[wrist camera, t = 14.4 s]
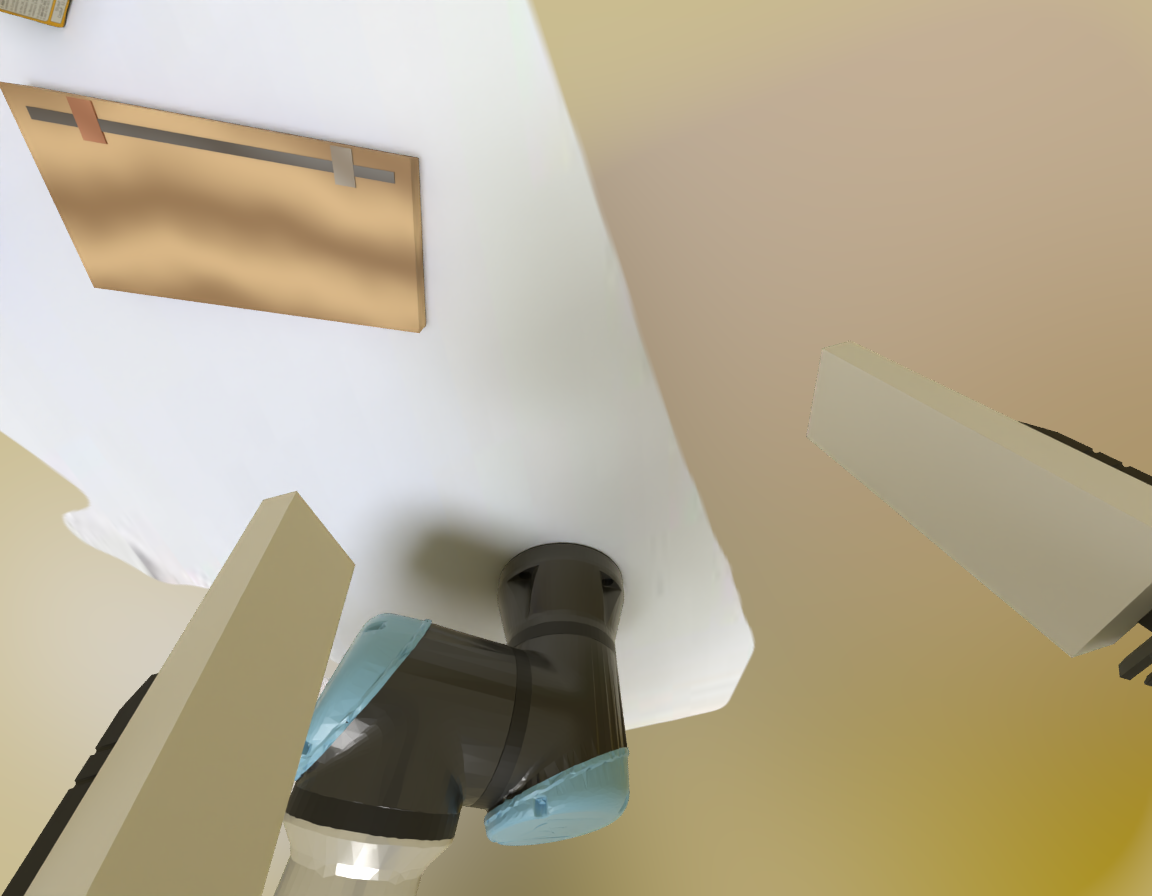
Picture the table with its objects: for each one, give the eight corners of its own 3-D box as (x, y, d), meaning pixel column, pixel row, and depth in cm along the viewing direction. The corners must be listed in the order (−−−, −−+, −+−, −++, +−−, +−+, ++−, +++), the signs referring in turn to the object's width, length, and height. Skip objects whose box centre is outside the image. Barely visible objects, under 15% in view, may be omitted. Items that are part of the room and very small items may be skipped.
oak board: (425, 325, 33) (418, 333, 31) (116, 281, 31) (92, 287, 29) (418, 158, 27) (409, 157, 25) (31, 86, 24) (-5, 81, 23)
